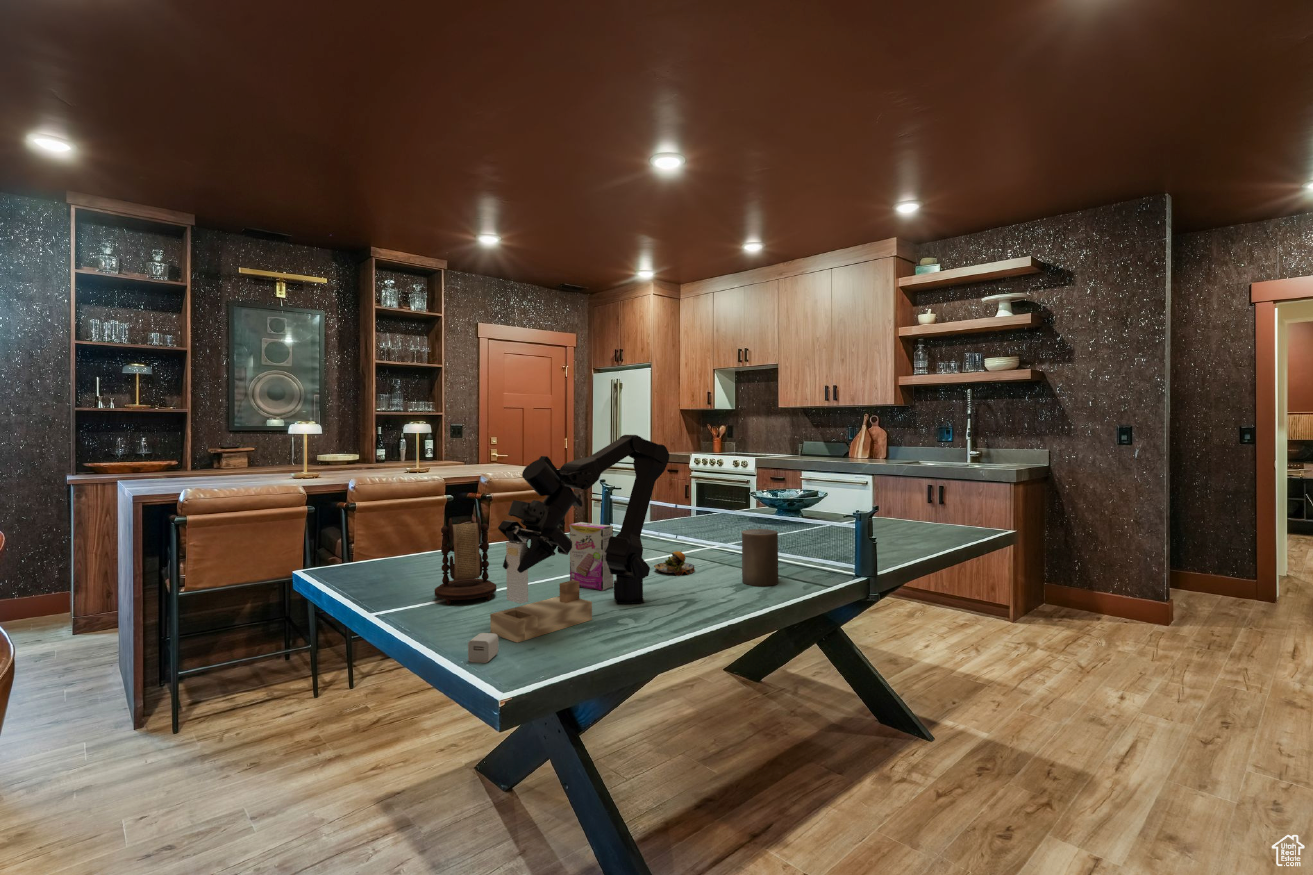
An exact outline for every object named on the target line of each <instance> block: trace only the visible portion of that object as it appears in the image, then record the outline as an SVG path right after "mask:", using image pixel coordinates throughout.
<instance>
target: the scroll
mask: <svg viewBox="0 0 1313 875" xmlns="http://www.w3.org/2000/svg"><path fill="white" fill-rule="evenodd" d="M481 522H482V521H481V517H479V516H477V517H476V522H474V523H473V522H472V523H459V524H453V521H452V518H451V517H450V518H449V519H448V526H446V525H443V526H442V527H441V528H440V532H441V534H442V535H441V537H442V540H441V544H442V546H441V548H440V552H441V554H442V560H441V561H442V562H441V563H443V564H442V565H441V567H440V568H441V571H443V572H442V574H441V575H443V576H442V580H441V582H442V583H441V584H440V585H438V586H436V587H435V588H434V597H436V598H438V599H441V600H445V601H446V602H445V603H446V604H447V605H448V606H449V605H451V602H452V601H461V600H463V601H464V600H474V599H481V598H484V597H486V600H487V601H490V600H491V598H492V595H493V594H495V593H496V592H497V583H495V582H492V581H491V580H489V577H490V576H489V572H488V571H489V568H488V567H489V566H490V562H489V561H488V559H489V556H488V553H487V552H489V549H490V544H489V542H488V541H489V538H488V533H489V532H488V530H489V528H490V527H489V525H488V524H487V523H481ZM448 538H449V539H448ZM480 539H481V541H482V542H481V543H480ZM449 541H450V542H451V544H453V545H452V546H450V545H449ZM480 550H481V552H483V553H482V555H481V553H480ZM450 552H453V554H454V555H450V556H449V557H448V555H449V553H450ZM449 575H450V577H449ZM480 577H481V578H480ZM450 578H451V579H452V580H450Z"/></svg>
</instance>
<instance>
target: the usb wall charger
mask: <svg viewBox="0 0 1313 875" xmlns="http://www.w3.org/2000/svg"><path fill="white" fill-rule="evenodd" d="M499 642H500V639H499V636H498V635H497V634H495V633H491V632H489V633H488V632H479V633H478V634H477V635H476V636H474V637H473V638H472V639H471V640H469V641H468V642H467V657H468V658H467V659H468V661H469V662H470V663H488V662H490V661H491V660H492V659H493V658H494V657H495V656H497V655H498V653H499Z"/></svg>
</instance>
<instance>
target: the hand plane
mask: <svg viewBox="0 0 1313 875" xmlns="http://www.w3.org/2000/svg"><path fill="white" fill-rule="evenodd" d="M489 620H490V633H495V634H497V635H498V637H500V638H503V639H506V640H509V641H511V642H513V643H514V642H515V643H517V644H518V643H521V642H524V641H528V640H530V639H534V638H537V637H541V636H543V635H546V634H550V633H553V632H556V631H560V630H563V629H566V628H570V627H573V626H575V625H579V624H583V623H585V622H588V621H592V620H593V602H592V600H591V601H590V600H587V599H582V598H581V597H580V587H579V581H575V580H571V581H570V580H567V581H563V582H560V583H559V596H554V597H551V598H548V599H544V600H542V599H541V600H539V601H535V602H531V603H527V604H523V605H520V606H516V607H512V608H507V609H503V610H500V611H495V612H493V613H490V618H489Z"/></svg>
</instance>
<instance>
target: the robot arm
mask: <svg viewBox="0 0 1313 875" xmlns="http://www.w3.org/2000/svg"><path fill="white" fill-rule="evenodd" d="M668 450H669V449H667V447H666V445H664V444H661V443H660V444H659V443H656V442H653V441H650V440H647V439H645V438H643V437H642V436H639V435H638V434H623V435H621V436H620V437H619V438H618V439H616V440H614V441H613V442H611V443H609V444H608V445H606V446H605V447H603V448H601V449H599V450H598V451H596V452H595V453H593V454H590V456H589V455H588V456H587V457H583V458H579V459H575V460H574V459H573V460H571V461H568V462H566V463H564V464H562V466H561V467H560V468H557V467H556V466H555V465H554V464H553V462H552V460H551V459H550V458H549V456H547V455H542V456H541V455H540V457H539V458H538V459H536V460H534V461H532V462H531V463H529V465H527V466H525V468H524V469H523V471H522V474H521V476H522V479H523V480H525V481H526V483H527V484H528V486H530V487H531V489H532V490H533V491H534V492H535V493H536V494H537V496H540V497H545V496H546V497H545V498H544V499H543V501H541V500H535V499H533V500H532V501H531V502H527V501H524V500H523V501H522V500H514V499H512V502H511V504H510V508H509V510H508V513H507V515H508V516H510V517H515V518H518V519H519V520H520V523H521V524H520V523H519V522H518V521H517V520H511V519H506V520H502V521H501V523H500V524H499V526H498V527H497V528H498V530H499V531H500V533H502V534H503V535H504V536H505V537H506V538H507V539H508V541H519V542H524V543H527V544H528V542H529V540H530V546H528V551H527V553H526V554H525V556H524V558H523V559H522V561H521V563H520V565H519V567H518V569H517V571H518V572H519V573H522V572H524V571H525V570H527V569H528V570H529V569H530V568H532V567H533V566H536V565H537V564H538V563H540V562H542V561H545V560H546V559H548V558H550V557H552V556H555V555H557V554H556V552H555V551H556V549H557V553H558V554H560V555H566V556H568V555H569V554H570V550H571V549H572V541H571V540H570V537H569V536H568V535H567V534H566V533H565V532H564V531H563V530H562V529H561V527H564V525H565V524H566V522H565V520H564V518H565V517H566V515H567V514H568V513H569V511H570V509H571V508H572V507H580V508H581V507H583V501H582V495H581V494H580V493H575V491H574V490H573V489H575V490H583V491H585V490H589V489H590V488H591V487H593V485H595V483H597V482H598V481H599V480H600V478H601V474H603V472H605V471H607V470H608V469H610V468H611V467H613V466H615V465H616V464H617V463H619V462H620V461H622V460H624V459H626V458H627V457H629V458H630V459H631V458H632V459H633V463H632V464H633V469H634V473H635V479H634V482H633V486H632V490H631V492H630V497H629V499H628V504H627V507H626V511H625V514H624V518H623V522H622V524H621V529H620V531H619V532H618V533H617V535H616V536H614V535H613V536H610V538H609V541H608V546H607V549H606V550H605V553H606V561H607V564H608V567H609V570H610V574H613V575H615V579H613V599H614V600H615V601H616V604H617V605H625V604H627V605H628V604H630V605H631V604H632V605H633V604H644V602H645V599H644V583H643V582H644V579H645V578H647V577H648V576H649V575H650V570H651V566H649V564H648V563H647V562H646V561H645V560H644V559H643V551H644V547H643V543H642V539H641V534H642V531H643V527H644V524H645V522H646V521H645V520H646V516H647V513H648V509H649V506H650V503H651V498H652V495H653V491H654V487H655V485H656V484H655V483H656V482H657V480H658V479H659V478H660V477H661V475H662V474H664V473H665V471H666V469H667V466H668V463H669V460H670V453H669V451H668ZM522 525H523V526H524V527H525V528H524V527H523V526H522ZM559 527H560V528H559ZM502 568H503V569H504V570H507V563H506V556H505V557H504V559H503V564H502Z"/></svg>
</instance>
